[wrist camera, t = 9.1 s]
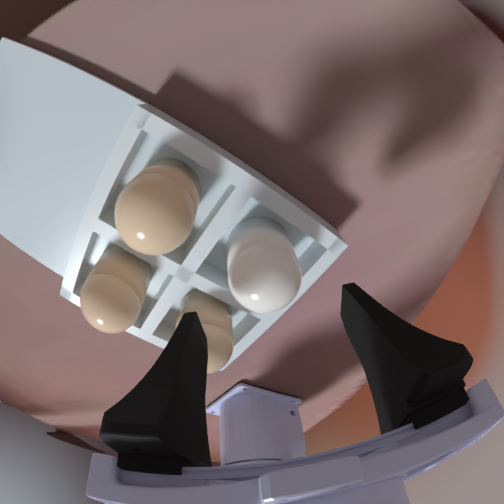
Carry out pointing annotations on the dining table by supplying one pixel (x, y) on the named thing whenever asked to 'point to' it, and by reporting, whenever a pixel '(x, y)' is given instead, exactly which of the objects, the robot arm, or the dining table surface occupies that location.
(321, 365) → the dining table surface
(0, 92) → the egg carton
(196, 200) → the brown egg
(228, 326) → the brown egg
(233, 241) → the white egg
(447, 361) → the robot arm
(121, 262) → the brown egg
